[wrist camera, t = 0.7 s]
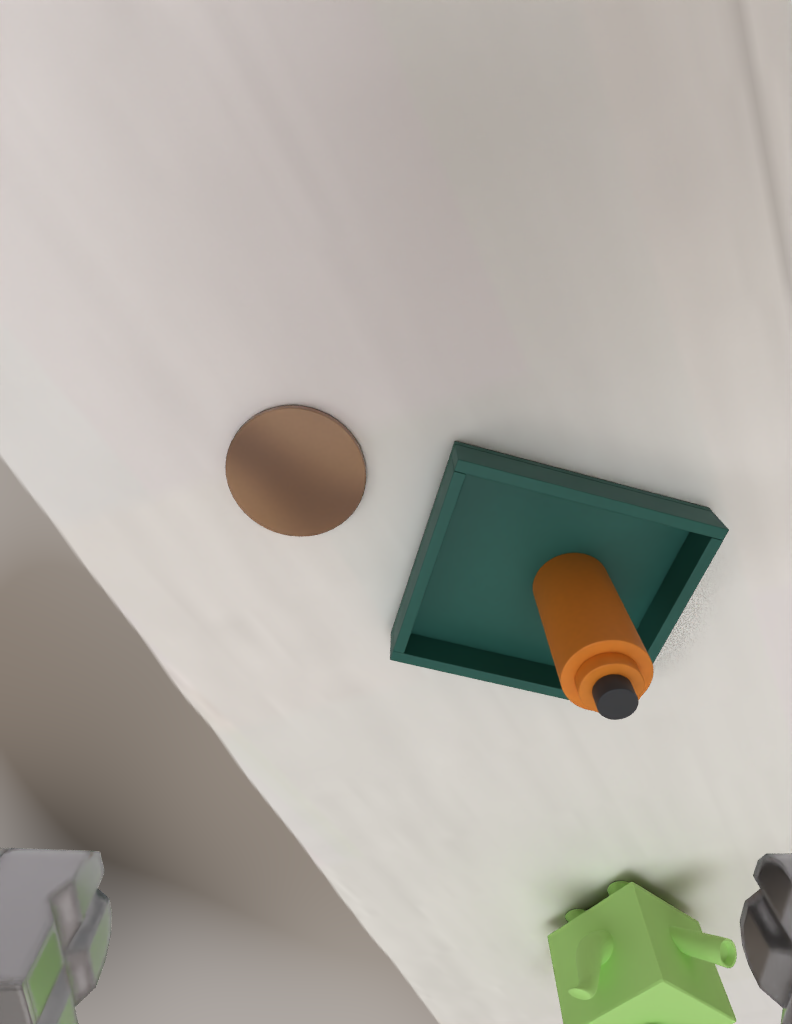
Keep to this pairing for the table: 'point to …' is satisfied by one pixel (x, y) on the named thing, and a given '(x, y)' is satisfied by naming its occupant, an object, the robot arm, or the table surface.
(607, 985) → the kettle
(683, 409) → the table surface
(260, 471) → the coaster
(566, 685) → the glue bottle
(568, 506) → the tray
